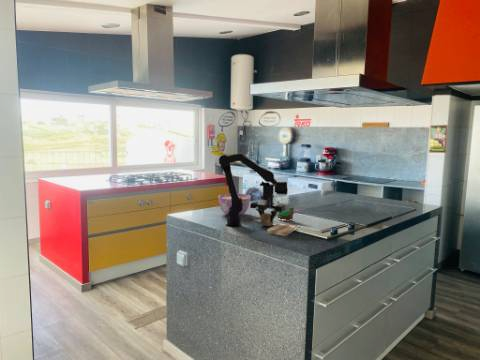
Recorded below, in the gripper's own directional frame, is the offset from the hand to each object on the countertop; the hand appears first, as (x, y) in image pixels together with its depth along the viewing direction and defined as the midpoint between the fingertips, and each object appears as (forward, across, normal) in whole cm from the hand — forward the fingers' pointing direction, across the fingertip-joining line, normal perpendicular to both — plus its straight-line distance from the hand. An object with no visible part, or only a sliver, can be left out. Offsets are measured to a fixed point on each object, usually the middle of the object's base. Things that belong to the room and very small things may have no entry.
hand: (267, 222), depth 203 cm
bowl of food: (+2, -28, +12) cm, 31 cm away
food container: (+2, +2, +17) cm, 17 cm away
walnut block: (+2, 0, 0) cm, 2 cm away
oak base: (+2, +11, -5) cm, 12 cm away
